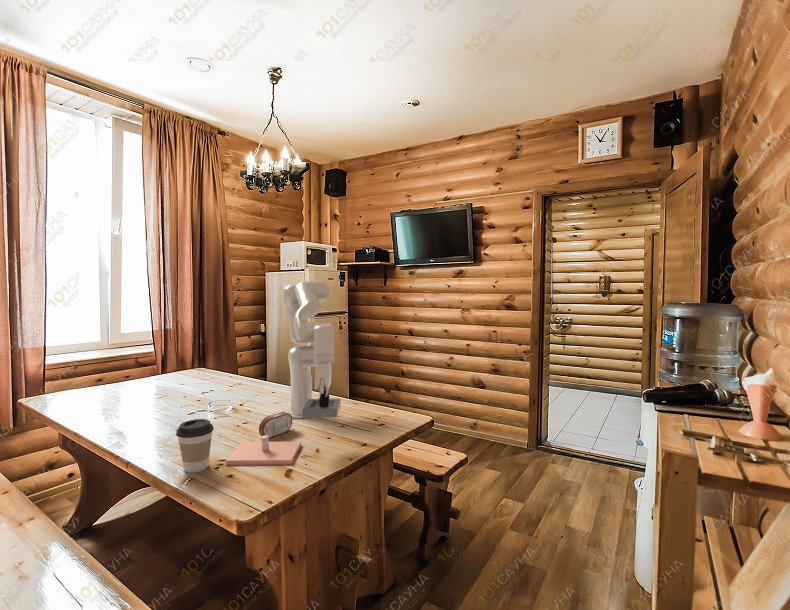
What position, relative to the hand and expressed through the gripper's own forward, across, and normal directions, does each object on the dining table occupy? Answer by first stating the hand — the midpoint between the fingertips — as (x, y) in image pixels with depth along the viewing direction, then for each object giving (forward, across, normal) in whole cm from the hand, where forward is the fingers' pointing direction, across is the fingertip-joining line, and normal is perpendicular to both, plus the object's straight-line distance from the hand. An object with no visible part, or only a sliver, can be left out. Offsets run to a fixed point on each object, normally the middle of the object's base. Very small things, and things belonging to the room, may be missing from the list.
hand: (324, 405), depth 158 cm
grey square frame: (+1, +5, 0) cm, 5 cm away
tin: (+15, -10, -21) cm, 28 cm away
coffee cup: (+15, +19, -40) cm, 47 cm away
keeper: (+15, +9, -20) cm, 26 cm away
